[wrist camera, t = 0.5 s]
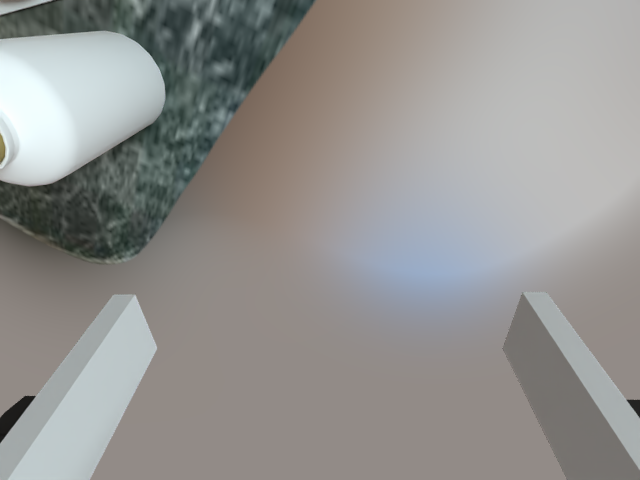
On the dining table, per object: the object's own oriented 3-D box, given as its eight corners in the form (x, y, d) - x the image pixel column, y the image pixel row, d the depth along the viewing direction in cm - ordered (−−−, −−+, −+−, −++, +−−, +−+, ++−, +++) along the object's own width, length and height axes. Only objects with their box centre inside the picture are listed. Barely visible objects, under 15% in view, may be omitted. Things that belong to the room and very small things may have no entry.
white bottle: (76, 14, 31) (-175, 17, 16) (174, 51, 32) (30, 87, 17) (78, 109, 35) (-119, 184, 20) (164, 138, 36) (42, 230, 21)
